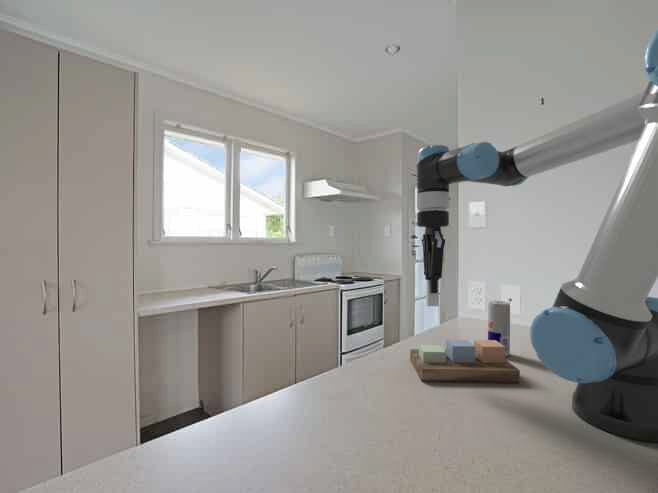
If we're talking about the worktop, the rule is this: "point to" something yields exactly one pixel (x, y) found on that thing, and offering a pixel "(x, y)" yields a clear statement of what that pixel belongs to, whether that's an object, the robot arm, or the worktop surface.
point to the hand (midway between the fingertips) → (432, 305)
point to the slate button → (460, 351)
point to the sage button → (432, 354)
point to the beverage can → (499, 323)
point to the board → (464, 371)
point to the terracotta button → (489, 351)
